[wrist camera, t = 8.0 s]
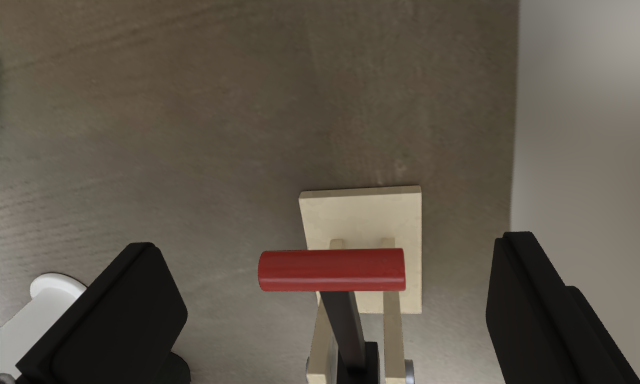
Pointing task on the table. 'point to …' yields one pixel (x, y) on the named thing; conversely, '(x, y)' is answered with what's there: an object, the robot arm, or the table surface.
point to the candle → (36, 317)
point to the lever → (339, 295)
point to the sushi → (173, 371)
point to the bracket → (364, 233)
